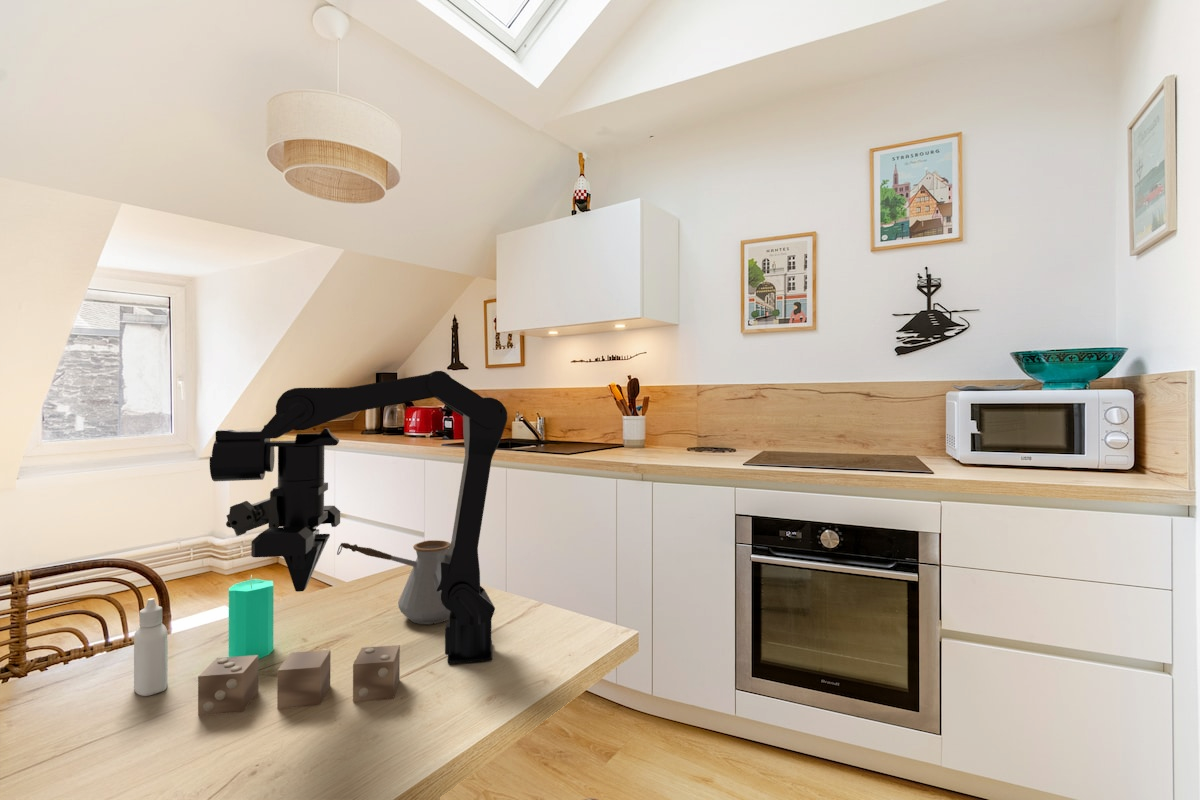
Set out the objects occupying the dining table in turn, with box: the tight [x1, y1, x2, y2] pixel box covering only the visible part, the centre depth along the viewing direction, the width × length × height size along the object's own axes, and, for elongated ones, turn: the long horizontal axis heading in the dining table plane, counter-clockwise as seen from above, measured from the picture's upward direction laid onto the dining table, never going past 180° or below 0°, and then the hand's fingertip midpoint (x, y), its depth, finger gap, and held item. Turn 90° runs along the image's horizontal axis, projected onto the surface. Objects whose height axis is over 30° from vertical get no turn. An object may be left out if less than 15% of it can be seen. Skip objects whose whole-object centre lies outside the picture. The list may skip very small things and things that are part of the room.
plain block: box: [276, 649, 332, 710], centre depth 75 cm, size 5×5×5 cm
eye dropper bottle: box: [133, 597, 169, 697], centre depth 77 cm, size 4×6×12 cm
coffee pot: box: [336, 539, 451, 625], centre depth 101 cm, size 21×12×15 cm, turn 119°
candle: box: [228, 574, 275, 660], centre depth 88 cm, size 6×6×12 cm
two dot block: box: [352, 644, 401, 703], centre depth 77 cm, size 5×5×5 cm
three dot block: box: [197, 655, 259, 717], centre depth 74 cm, size 5×5×5 cm
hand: (300, 590), depth 80 cm, fingers closed
